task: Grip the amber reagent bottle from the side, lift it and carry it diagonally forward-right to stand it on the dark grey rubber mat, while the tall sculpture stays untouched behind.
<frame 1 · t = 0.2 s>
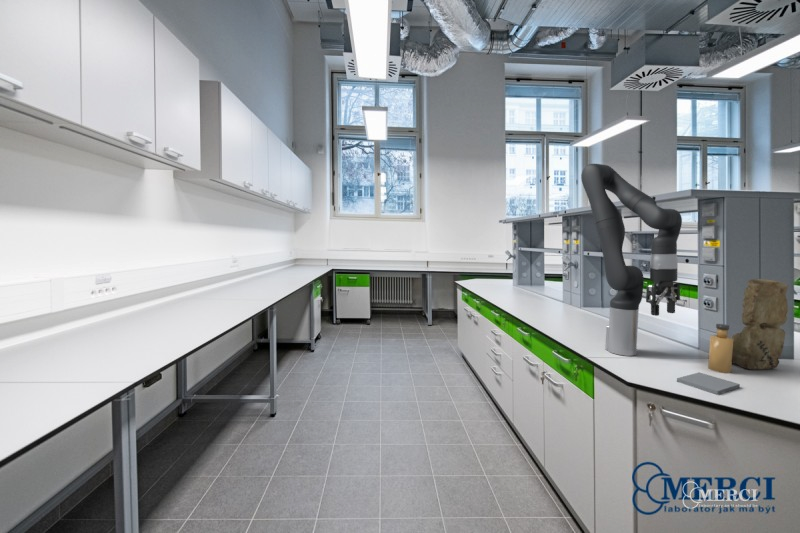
hand: (663, 314, 121), 17 cm above the table, tool pointing down, fingers open, 8 cm apart
bottle: (719, 369, 116), on the table
sculpture: (752, 367, 119), on the table
mat: (707, 384, 104), on the table
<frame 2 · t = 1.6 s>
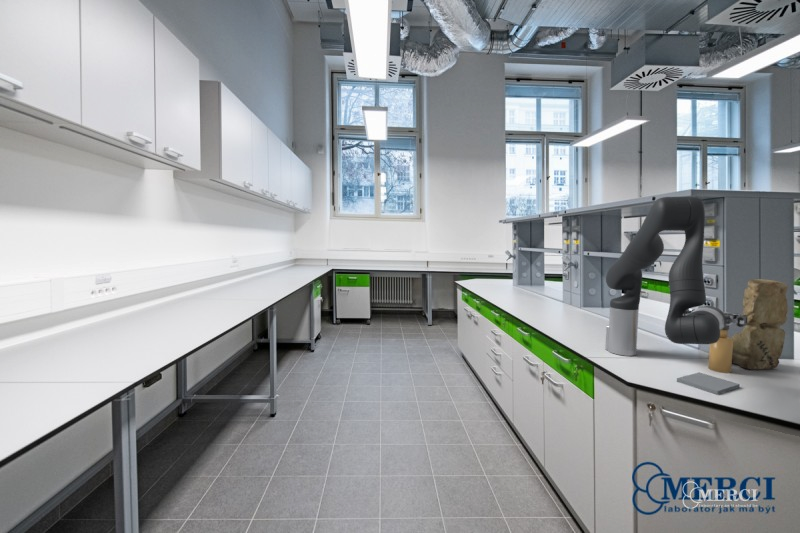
hand: (717, 314, 108), 20 cm above the table, tool horizontal, fingers open, 8 cm apart
nothing on the table moved.
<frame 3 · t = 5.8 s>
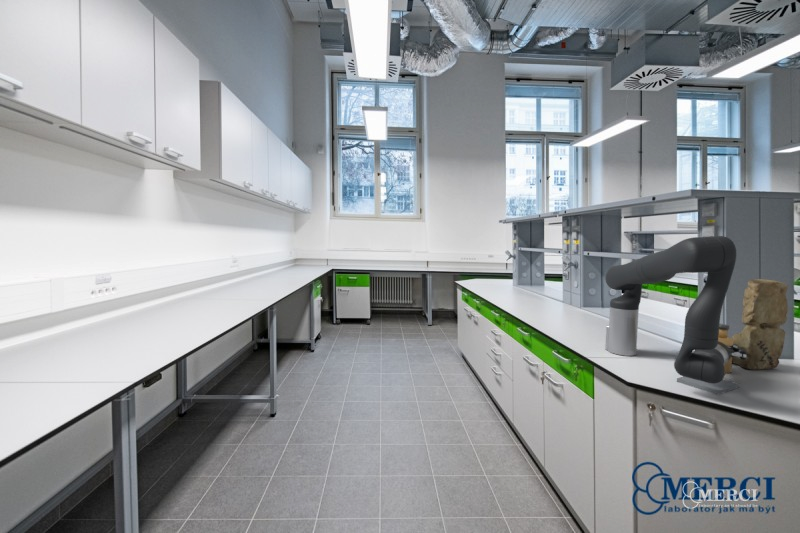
hand: (722, 344, 117), 8 cm above the table, tool horizontal, fingers closed on bottle, 5 cm apart
bottle: (719, 369, 116), on the table, touching gripper
everything else where it was.
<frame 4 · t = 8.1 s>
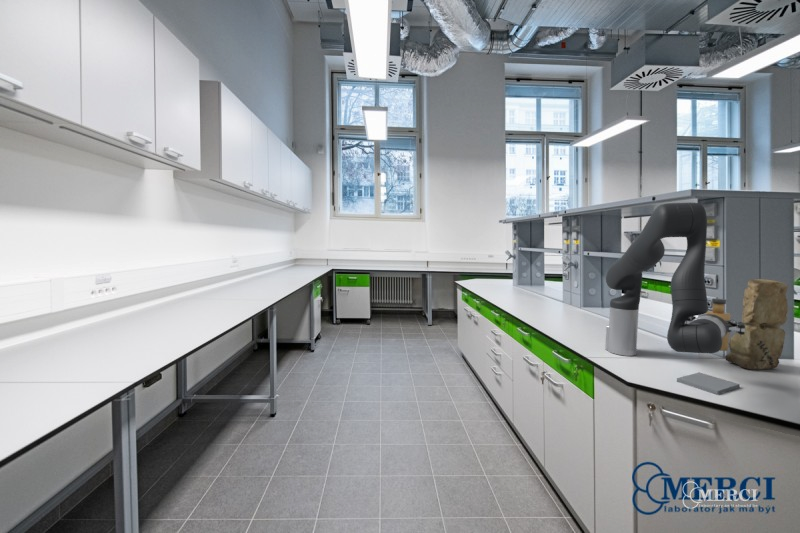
hand: (718, 321, 109), 18 cm above the table, tool horizontal, fingers closed on bottle, 5 cm apart
bottle: (715, 348, 108), point 10 cm above the table, touching gripper
everything else where it was.
when the fingers open (10 cm above the table, at t = 10.5 s): bottle drops 1 cm, resting on mat.
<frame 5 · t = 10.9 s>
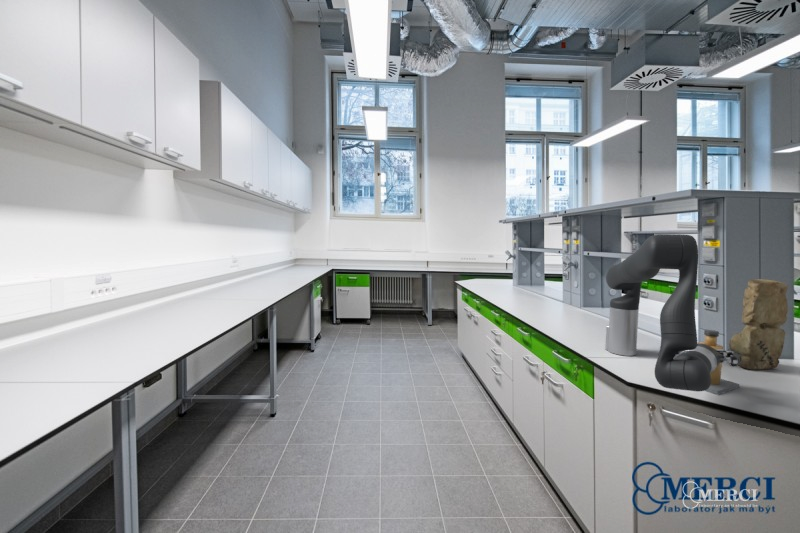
hand: (711, 348, 105), 11 cm above the table, tool horizontal, fingers open, 8 cm apart
bottle: (707, 381, 104), point 1 cm above the table, touching mat
everything else where it was.
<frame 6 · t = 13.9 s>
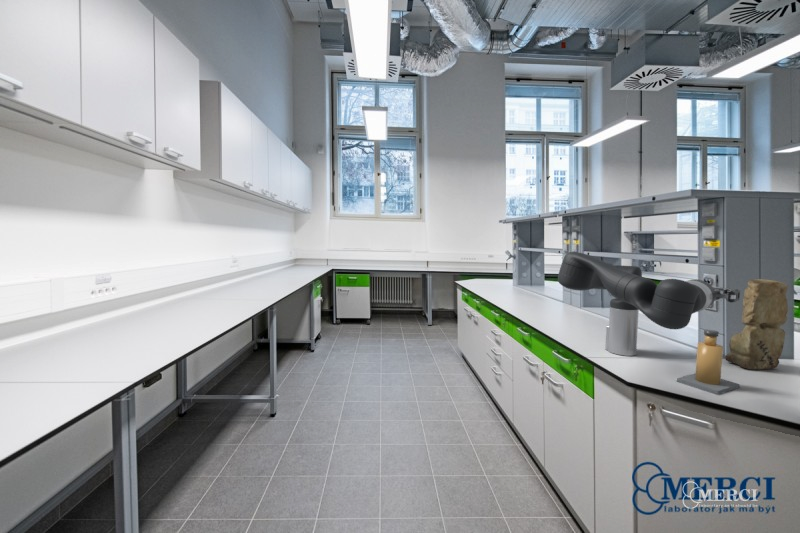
hand: (706, 290, 95), 29 cm above the table, tool horizontal, fingers open, 8 cm apart
nothing on the table moved.
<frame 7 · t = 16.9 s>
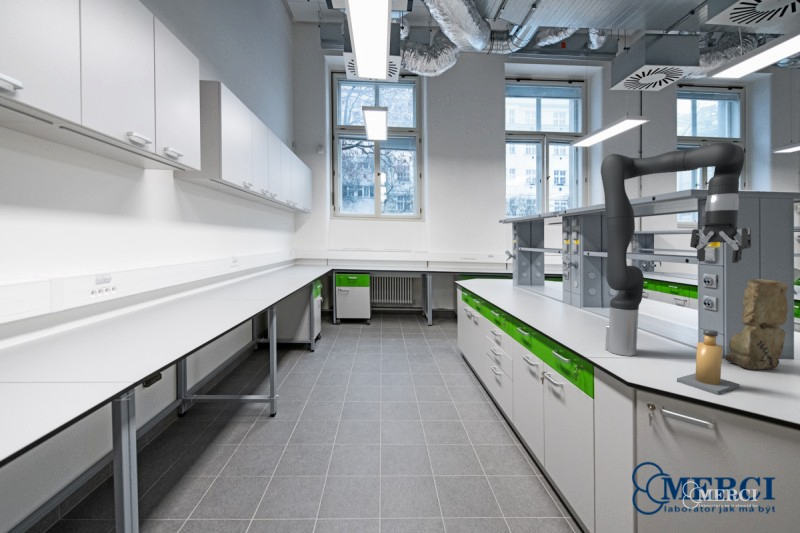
hand: (717, 262, 110), 36 cm above the table, tool pointing down, fingers open, 8 cm apart
nothing on the table moved.
at the end: bottle inside the target area on the mat (0.1 cm from its centre), point 1.0 cm above the mat's base; bottle tilted 1°; the gripper is holding nothing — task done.
